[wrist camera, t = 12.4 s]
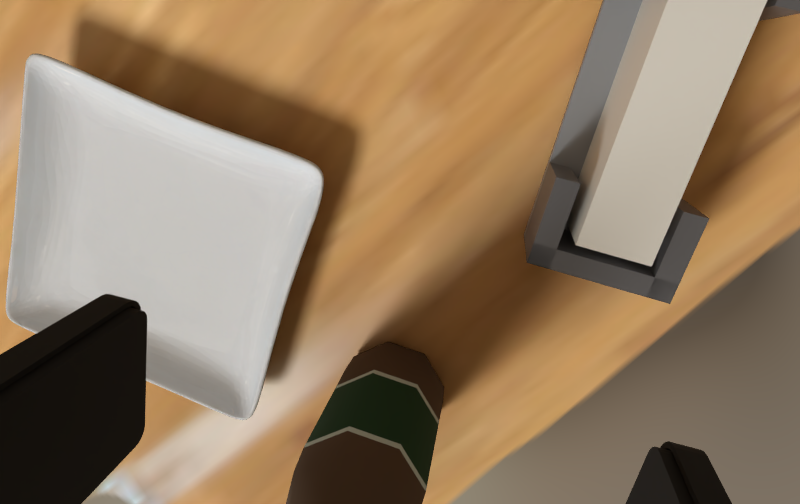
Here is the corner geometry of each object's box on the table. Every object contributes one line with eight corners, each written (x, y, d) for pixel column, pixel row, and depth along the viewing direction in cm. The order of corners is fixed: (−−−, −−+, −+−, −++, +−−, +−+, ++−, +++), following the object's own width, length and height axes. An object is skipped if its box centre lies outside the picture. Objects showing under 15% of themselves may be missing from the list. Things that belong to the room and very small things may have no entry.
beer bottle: (467, 384, 40) (420, 781, 18) (403, 446, 43) (291, 858, 21) (385, 318, 40) (228, 640, 17) (325, 385, 42) (123, 739, 20)
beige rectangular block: (666, -67, 29) (704, -99, 23) (743, -49, 29) (801, -78, 23) (564, 216, 34) (575, 245, 29) (627, 234, 34) (651, 266, 29)
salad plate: (267, 404, 45) (248, 430, 41) (34, 304, 46) (-2, 322, 42) (344, 160, 37) (329, 169, 34) (63, 49, 38) (22, 47, 35)
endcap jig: (641, -115, 29) (671, -155, 24) (796, -81, 28) (862, -114, 23) (523, 234, 36) (526, 262, 31) (645, 269, 35) (670, 303, 30)
